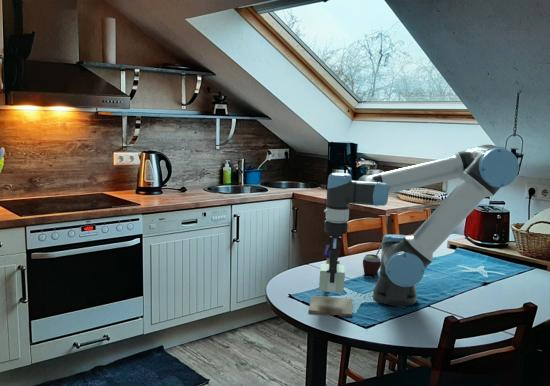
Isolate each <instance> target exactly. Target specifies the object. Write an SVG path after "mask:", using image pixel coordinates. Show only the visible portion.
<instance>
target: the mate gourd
mask: <svg viewBox="0 0 550 386" xmlns="http://www.w3.org/2000/svg"><path fill="white" fill-rule="evenodd" d="M381 250H382V243H381V245H379V247H378V250H377V252H376V254H372V253H371V254H366V255H365V256H364V257H363V260H362V267H363V276H364V277H372V278H374V279H375V278H376V276H379V273H378V272H379V271H380V265H381V257H380V256H379V252H380V251H381Z"/></svg>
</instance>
